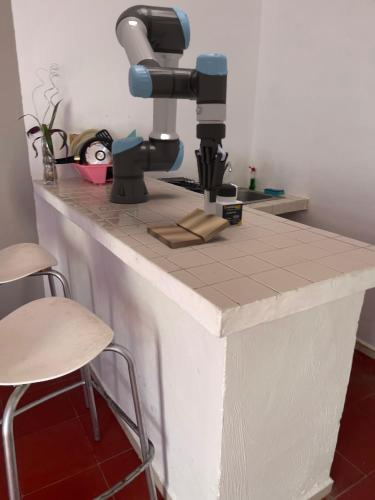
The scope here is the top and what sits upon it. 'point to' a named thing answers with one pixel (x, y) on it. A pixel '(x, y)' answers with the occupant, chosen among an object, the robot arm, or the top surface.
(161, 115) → the robot arm
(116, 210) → the top surface
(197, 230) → the plank
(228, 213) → the medicine bottle
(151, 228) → the laid board
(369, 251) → the top surface
